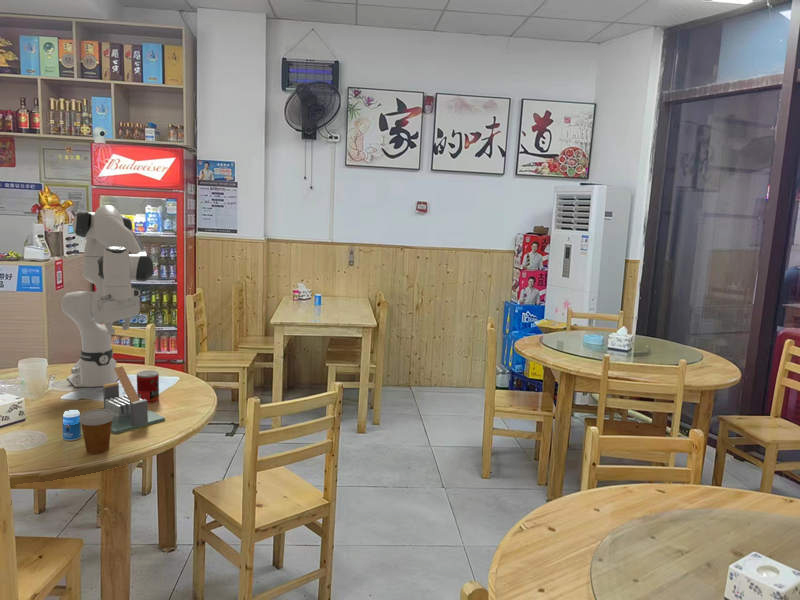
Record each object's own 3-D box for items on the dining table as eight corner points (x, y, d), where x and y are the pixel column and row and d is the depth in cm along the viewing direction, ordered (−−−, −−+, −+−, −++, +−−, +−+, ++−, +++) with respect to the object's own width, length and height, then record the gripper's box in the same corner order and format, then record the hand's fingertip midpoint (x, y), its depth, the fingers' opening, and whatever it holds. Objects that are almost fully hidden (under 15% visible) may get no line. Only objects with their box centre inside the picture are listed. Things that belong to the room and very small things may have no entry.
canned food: (154, 403, 228) (153, 376, 226) (133, 402, 228) (132, 375, 226) (162, 397, 236) (161, 371, 234) (142, 396, 236) (142, 369, 234)
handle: (112, 370, 211) (114, 367, 210) (121, 369, 213) (122, 366, 212) (132, 408, 204) (133, 405, 204) (140, 406, 207) (141, 403, 206)
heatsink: (104, 416, 210) (103, 399, 210) (131, 409, 218) (131, 393, 217) (118, 423, 204) (117, 406, 204) (145, 416, 212) (145, 400, 211)
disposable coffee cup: (111, 455, 181) (110, 418, 180) (77, 457, 179) (75, 420, 177) (117, 443, 190) (116, 407, 189) (84, 445, 188) (82, 409, 186)
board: (82, 415, 212) (81, 387, 211) (130, 404, 226) (130, 377, 225) (115, 433, 198) (114, 403, 196) (165, 420, 212) (164, 391, 210)
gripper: (106, 298, 196) (107, 338, 198) (142, 290, 216) (143, 327, 218) (89, 296, 197) (90, 337, 199) (127, 289, 217) (128, 325, 219)
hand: (118, 331), depth 209 cm, fingers open, 7 cm apart
